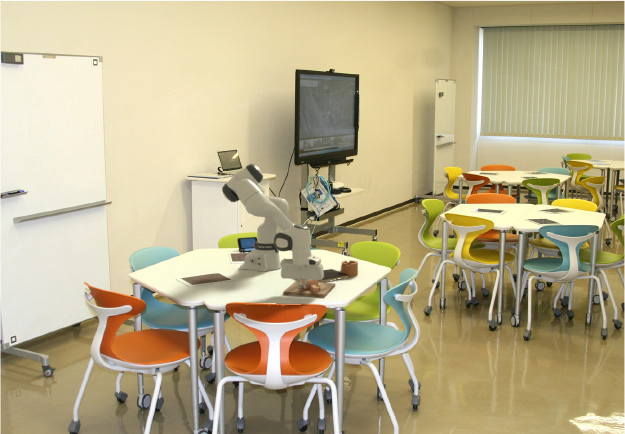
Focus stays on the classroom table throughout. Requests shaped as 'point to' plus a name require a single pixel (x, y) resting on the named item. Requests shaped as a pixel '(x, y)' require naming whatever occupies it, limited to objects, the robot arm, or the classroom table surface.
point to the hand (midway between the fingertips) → (302, 288)
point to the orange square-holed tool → (312, 285)
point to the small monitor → (246, 244)
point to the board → (309, 290)
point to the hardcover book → (332, 275)
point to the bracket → (350, 268)
